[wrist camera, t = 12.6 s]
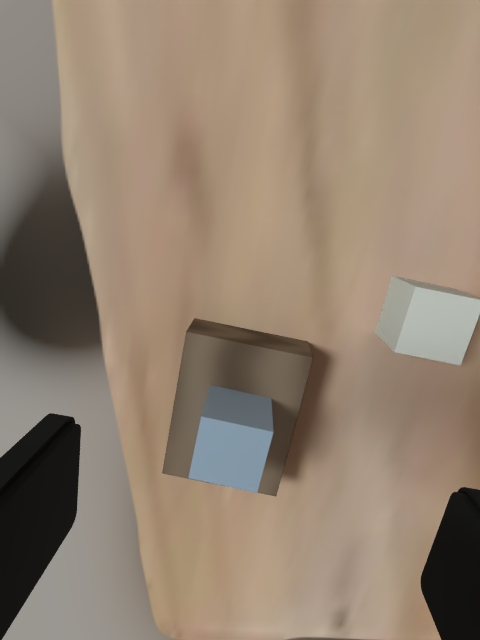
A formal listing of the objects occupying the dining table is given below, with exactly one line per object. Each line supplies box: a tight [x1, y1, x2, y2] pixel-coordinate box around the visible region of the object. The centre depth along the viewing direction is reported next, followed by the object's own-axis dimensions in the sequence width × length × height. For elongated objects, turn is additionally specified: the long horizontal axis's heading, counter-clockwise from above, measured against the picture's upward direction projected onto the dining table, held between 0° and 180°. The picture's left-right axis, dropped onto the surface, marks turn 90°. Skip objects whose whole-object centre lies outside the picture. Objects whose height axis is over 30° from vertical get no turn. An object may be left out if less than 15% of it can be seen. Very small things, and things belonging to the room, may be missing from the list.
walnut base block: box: [162, 318, 313, 496], centre depth 34 cm, size 10×13×4 cm
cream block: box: [375, 276, 480, 365], centre depth 31 cm, size 5×5×5 cm
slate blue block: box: [188, 385, 273, 493], centre depth 29 cm, size 5×5×5 cm
